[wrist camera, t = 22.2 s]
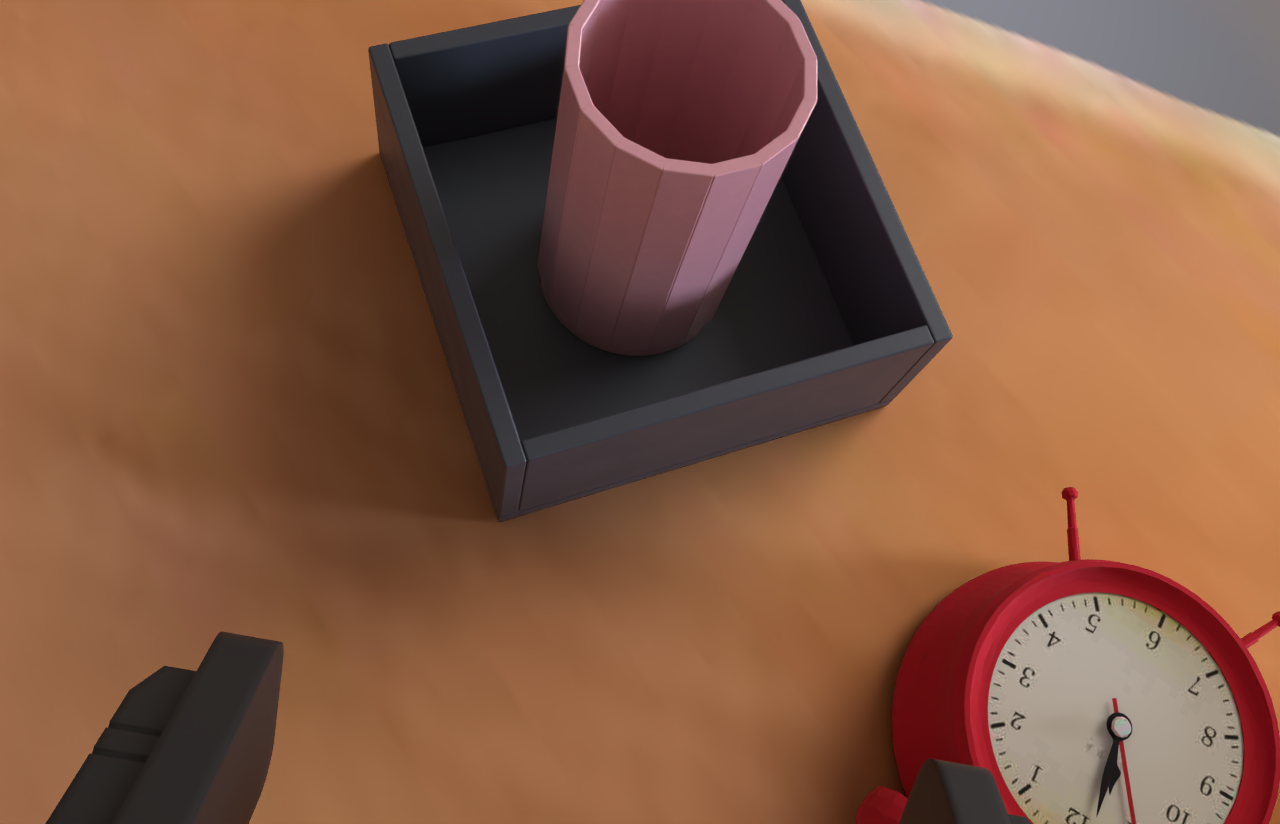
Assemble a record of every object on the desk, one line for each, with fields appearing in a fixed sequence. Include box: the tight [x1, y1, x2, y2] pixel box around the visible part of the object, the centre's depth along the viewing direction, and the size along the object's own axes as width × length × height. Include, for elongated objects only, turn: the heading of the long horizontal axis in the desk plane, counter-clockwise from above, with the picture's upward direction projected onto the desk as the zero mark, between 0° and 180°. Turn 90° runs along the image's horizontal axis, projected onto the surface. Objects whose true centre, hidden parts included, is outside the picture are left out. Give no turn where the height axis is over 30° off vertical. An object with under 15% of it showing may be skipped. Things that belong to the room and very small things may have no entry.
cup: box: [537, 0, 818, 356], centre depth 34 cm, size 6×6×11 cm
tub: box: [369, 0, 953, 522], centre depth 37 cm, size 13×13×6 cm
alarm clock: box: [855, 487, 1280, 824], centre depth 34 cm, size 10×6×15 cm
